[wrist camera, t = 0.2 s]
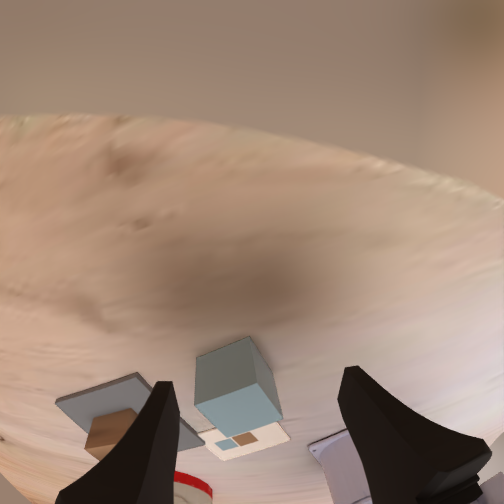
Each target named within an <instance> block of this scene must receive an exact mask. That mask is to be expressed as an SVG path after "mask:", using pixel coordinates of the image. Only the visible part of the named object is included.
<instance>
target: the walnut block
mask: <svg viewBox="0 0 504 504" xmlns="http://www.w3.org/2000/svg"><path fill="white" fill-rule="evenodd" d="M137 415H138V414H137V413H136V412H135V411H134V410H133V409H132V408H128V409H125V410H121V411H118V412H114V413H110V414H106V415H102V416H98V417H94V418H93V421H92V424H91V428H90V431H89V434H88V438H87V441H86V445H85V448H84V449H85V450H86V451H87V452H89V453H90V454H91V455H92V456H94V457H95V458H96V459H98V460H99V461H101V460H102V459H103V458H104V457H105V456H106V455H107V454H108V453H109V452H110V451H111V450H112V448H113V447H114V446H115V445H116V444H117V443H118V442H119V440H120V439H121V438H122V437H123V435H124V434H125V433H126V431H127V430H128V428H129V427H130V426H131V424H132V423H133V422H134V420H135V419H136V417H137Z"/></svg>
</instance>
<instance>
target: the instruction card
mask: <svg viewBox="0 0 504 504" xmlns="http://www.w3.org/2000/svg"><path fill="white" fill-rule="evenodd" d="M197 435H198V436H199V437H201V438H202V439H203V440H204V441H205V445H204V446H205V447H206V448H208V449H209V450H210V451H211V452H212V453H214V454H215V455H216V456H217V457H218V458H220V459H221V460H222V461H225V460H228V459H232V458H236V457H239V456H243V455H246V454H250V453H253V452H256V451H259V450H263V449H266V448H269V447H272V446H275V445H278V444H281V443H284V442H286V441H289V440H291V439H290V437H289V436H288V435H287V434H286V432H285V431H284V430H283V429H282V427H281V426H280V425H279V424H278V422H274V423H271V424H268V425H265V426H263V427H260V428H257V429H254V430H251V431H248V432H245V433H241V434H238V435H235V436H232V437H228V438H226V437H225V436H224V435H223V434H222V433H221V432H220V431H219V430H218V429H217V428H214V429H210V430H207V431H203V432H200V433H197Z"/></svg>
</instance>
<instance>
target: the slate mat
mask: <svg viewBox="0 0 504 504" xmlns="http://www.w3.org/2000/svg"><path fill="white" fill-rule="evenodd" d="M152 390H153V389H152V388H151V387H150V386H149V385H148V383H147V382H146V381H145V380H144V379H143V378H142V377H141V376H140V375H139V374H138V372H137V373H134V374H131V375H129V376H126V377H123V378H120V379H117V380H114V381H111V382H109V383H106V384H103V385H100V386H97V387H94V388H91V389H88V390H85V391H81V392H78V393H75V394H72V395H69V396H66V397H62V398H59V399H56V401H55V404H56V405H57V406H58V407H59V408H60V409H61V410H62V411H63V412H64V413H65V414H66V415H67V416H68V417H69V418H71V419H72V420H73V421H74V422H75V423H76V424H77V425H78V426H79V427H81V428H82V429H83V430H84V431H85V432H86V433H88V434H89V431H90V428H91V424H92V421H93V418H94V417H98V416H102V415H106V414H110V413H114V412H118V411H121V410H125V409H128V408H132V409H133V410H134V411H135V412H136V413H137V414H139V412H140V411H141V409H142V407H143V406H144V404H145V402H146V401H147V399H148V397H149V395H150V393H151V391H152ZM203 445H205V441H204V440H203V439H202V438H201V437H199V436H198V435H197V432H196V431H195V430H193V429H192V428H191V427H190V426H189V425H188V424H187V423H186V422H185V421H184V420H183V419H182V418H181V417H180V434H179V442H178V450H177V452H179V451H183V450H187V449H191V448H195V447H199V446H203Z"/></svg>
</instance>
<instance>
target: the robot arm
mask: <svg viewBox="0 0 504 504" xmlns="http://www.w3.org/2000/svg"><path fill="white" fill-rule="evenodd" d="M337 400H338V403H339V407H340V411H341V414H342V417H343V420H344V422H345V425H346V427H347V429H348V430H345V431H343V432H341V433H339V434H336V435H334V436H332V437H329V438H327V439H324V440H322V441H319V442H317V443H314V444H312V445H310V446H309V447H308V449H309V451H310V452H311V453H312V455H313V456H314V457H315V459H316V460H317V461H318V462H319V464H320V465H321V466H322V467H323V470H324V473H325V476H326V480H327V483H328V486H329V489H330V493H331V496H332V499H333V502H334V504H504V474H503V473H502V472H499V473H498V474H496V475H495V476H493V477H492V478H490V479H489V480H487V481H486V482H484V483H483V484H481V485H480V486H479V485H478V483H477V482H478V481H479V479H480V478H479V476H478V475H477V473H478V472H479V471H480V470H481V469H482V468H483V467H484V466H485V464H486V463H487V462H488V461H489V460H490V458H491V456H492V451H491V450H490V448H489V447H488V445H487V444H486V442H485V441H484V440H483V439H480V438H476V437H472V436H468V435H465V434H461V433H459V432H456V431H453V430H450V429H448V428H445V427H443V426H441V425H439V424H437V423H434V422H432V421H430V420H429V419H427V418H425V417H423V416H422V415H420V414H418V413H416V412H415V411H413V410H412V409H410V408H409V407H407V406H406V405H405V404H403V403H402V402H400V401H399V400H398V399H396V398H395V397H394V396H392V395H391V394H390V393H389V392H388V391H386V390H385V389H384V388H383V387H382V386H380V385H379V384H378V383H377V382H376V381H375V380H374V379H373V378H371V377H370V376H369V375H368V374H367V373H366V372H365V371H364V370H363V369H361V368H360V367H359V366H358V365H357V366H351V367H345V369H344V374H343V378H342V382H341V386H340V390H339V394H338V398H337ZM179 434H180V411H179V407H178V403H177V399H176V395H175V391H174V387H173V382H172V381H158V382H156V384H155V386H154V388H153V390H152V391H151V393H150V395H149V397H148V399H147V401H146V402H145V404H144V406H143V407H142V409H141V411H140V412H139V414H138V415H137V417H136V419H135V420H134V422H133V423H132V424H131V426H130V427H129V428H128V430H127V431H126V433H125V434H124V435H123V437H122V438H121V439H120V440H119V442H118V443H117V444H116V445H115V446H114V447H113V448H112V450H111V451H110V452H109V453H108V454H107V455H106V456H105V457H104V458H103V459H102V460H101V461H100V462H99V463H98V464H97V465H95V466H94V467H93V468H92V469H91V470H89V471H88V472H87V473H86V474H84V475H83V476H82V477H81V478H79V479H78V480H76V481H75V482H73V483H72V484H70V485H69V486H67V487H66V488H64V489H63V490H61V491H59V494H58V496H57V498H56V501H55V504H174V474H175V466H176V458H177V450H178V442H179Z"/></svg>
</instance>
